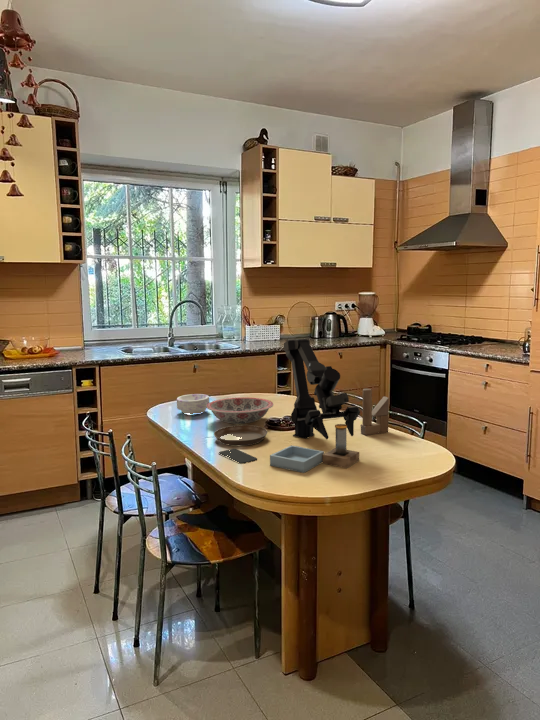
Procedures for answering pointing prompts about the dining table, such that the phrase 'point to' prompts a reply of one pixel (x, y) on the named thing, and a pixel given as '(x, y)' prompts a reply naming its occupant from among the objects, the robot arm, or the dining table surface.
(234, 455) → the phone
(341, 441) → the pin
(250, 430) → the plant saucer
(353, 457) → the brown square socket base
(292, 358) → the robot arm
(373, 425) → the wooden bracket stand
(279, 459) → the tray
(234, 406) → the ceramic bowl
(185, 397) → the white purple bowl
